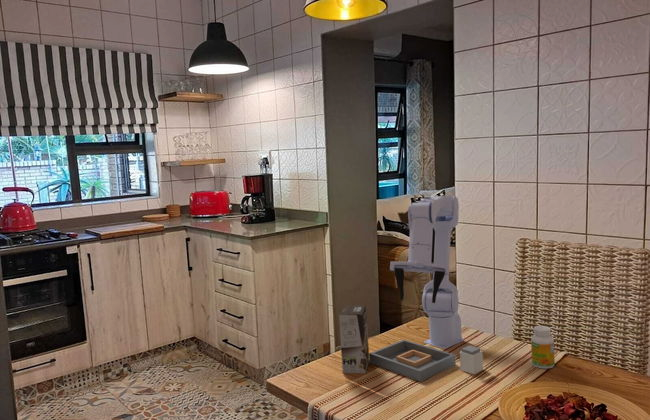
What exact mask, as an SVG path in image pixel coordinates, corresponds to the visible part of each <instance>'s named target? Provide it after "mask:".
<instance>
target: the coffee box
mask: <svg viewBox="0 0 650 420" xmlns="http://www.w3.org/2000/svg"><path fill="white" fill-rule="evenodd" d="M367 319H368V318H367V305H366V304H356V305H355V304H354V305H353V304H352V305H344V306H343V307H342V309H341V311H340V312H339V314H338V320H339V321H338V322H339V335H340V336H339V337H340V338H339V339H340V354H341V366H342V367H341V368H342V373H343V374H366V373H367V370H368V366H369V364H370V358H369V353H370V347H369V346H370V345H369V335H368V334H369V333H368V321H367Z"/></svg>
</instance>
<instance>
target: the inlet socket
mask: <svg viewBox="0 0 650 420" xmlns="http://www.w3.org/2000/svg"><path fill="white" fill-rule="evenodd" d="M412 355H415V356H418V357H421V358H422V359H420V360H417V361H415V362H414V361H411V360H408V359H405V358H407V357H409V356H412ZM430 360H432V357H431V355H428V354H425V353H422V352H419V351H416V350H411V351H408V352H406V353H403V354H401V355H399V356H396V361H399V362H401V363H404V364H407V365H410V366H413V367H417V366H419V365H421V364H424V363H426V362H428V361H430Z"/></svg>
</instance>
